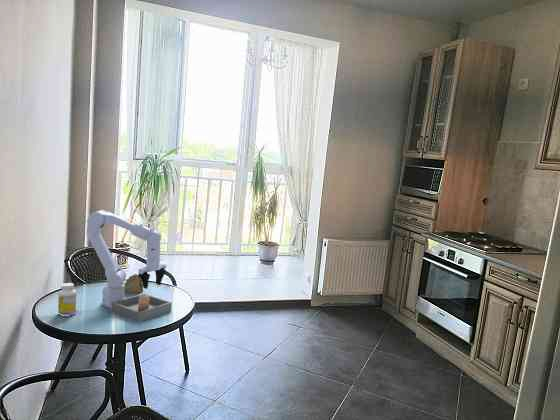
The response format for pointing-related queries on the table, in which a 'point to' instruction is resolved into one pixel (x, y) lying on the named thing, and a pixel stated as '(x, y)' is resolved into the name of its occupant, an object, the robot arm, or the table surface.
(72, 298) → the supplement bottle
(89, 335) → the table surface
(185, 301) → the table surface
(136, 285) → the rock
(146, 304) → the orange-brown upright cylinder
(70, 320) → the table surface
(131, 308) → the bin
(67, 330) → the table surface
